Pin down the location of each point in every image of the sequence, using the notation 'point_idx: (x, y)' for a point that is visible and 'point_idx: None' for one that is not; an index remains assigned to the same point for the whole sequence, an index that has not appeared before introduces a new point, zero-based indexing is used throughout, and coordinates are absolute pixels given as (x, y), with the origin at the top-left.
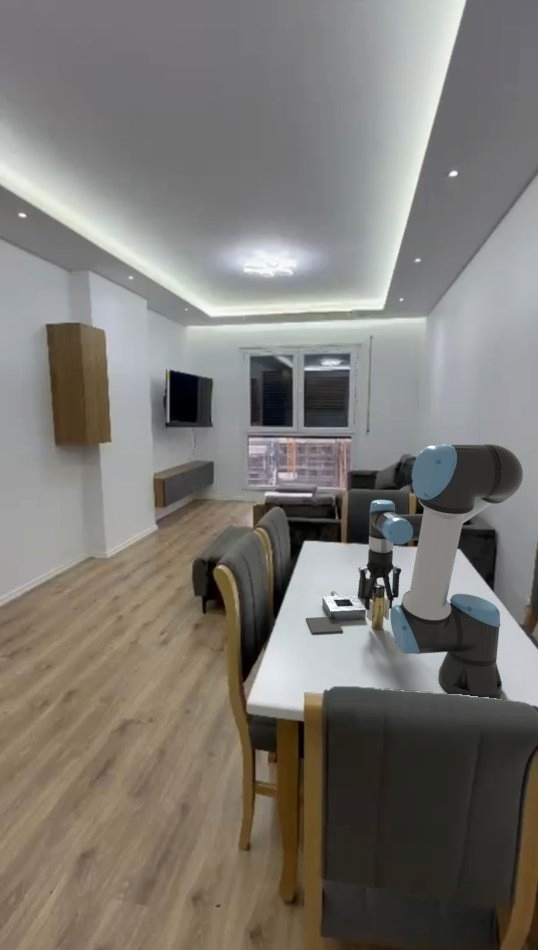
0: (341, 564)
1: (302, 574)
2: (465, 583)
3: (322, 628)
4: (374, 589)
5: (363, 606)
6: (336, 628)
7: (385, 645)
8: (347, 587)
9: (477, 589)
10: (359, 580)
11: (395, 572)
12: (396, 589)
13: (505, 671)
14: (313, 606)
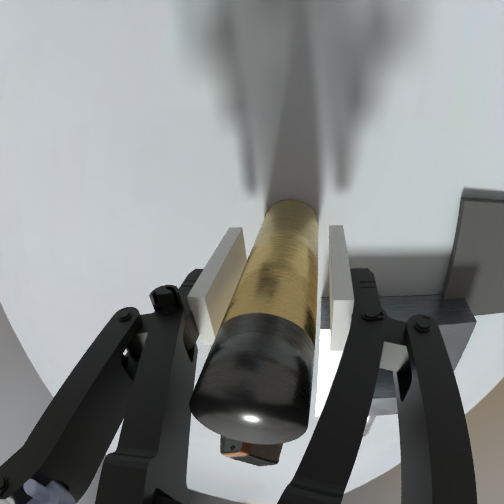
0: (276, 485)
1: (377, 473)
2: (53, 382)
3: None
4: (307, 396)
5: (319, 352)
6: (479, 224)
7: (297, 51)
8: (300, 444)
9: (34, 360)
10: (277, 461)
11: (33, 489)
12: (100, 354)
13: (4, 4)
14: None
